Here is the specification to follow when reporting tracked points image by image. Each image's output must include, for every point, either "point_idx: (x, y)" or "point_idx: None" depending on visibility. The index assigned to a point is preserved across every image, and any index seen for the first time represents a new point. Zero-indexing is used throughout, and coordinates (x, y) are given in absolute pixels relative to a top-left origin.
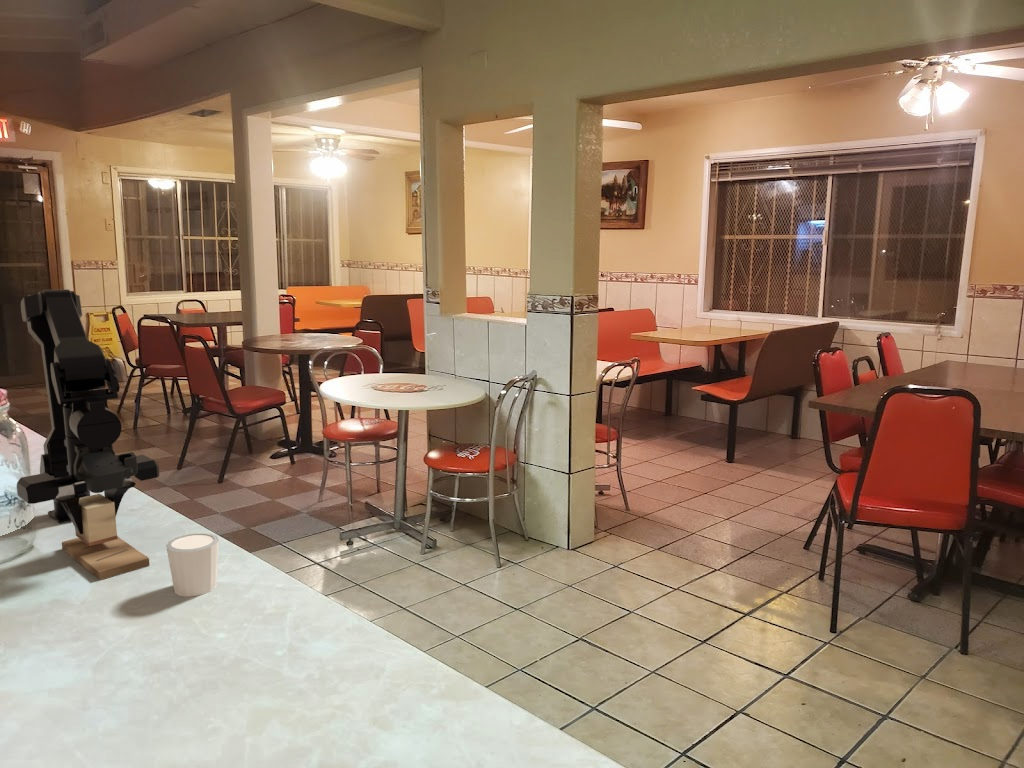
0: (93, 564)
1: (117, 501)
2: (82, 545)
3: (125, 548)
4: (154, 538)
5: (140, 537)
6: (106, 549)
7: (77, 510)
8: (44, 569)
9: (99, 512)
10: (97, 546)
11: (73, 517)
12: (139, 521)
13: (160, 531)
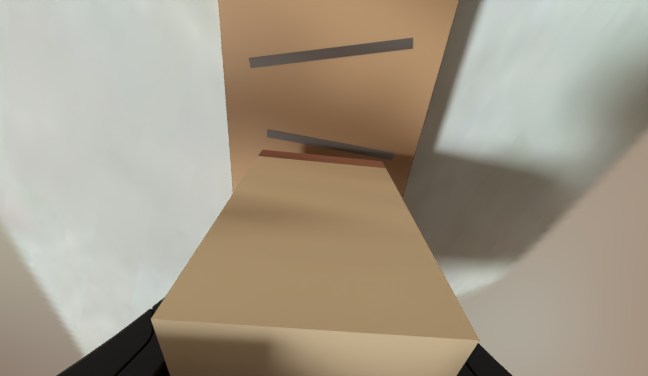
0: (442, 9)
1: (125, 353)
2: None
3: (255, 87)
4: (127, 163)
5: (169, 205)
6: (316, 139)
7: (462, 374)
8: (488, 187)
9: (336, 268)
10: None
11: None
12: (144, 304)
13: (98, 204)
